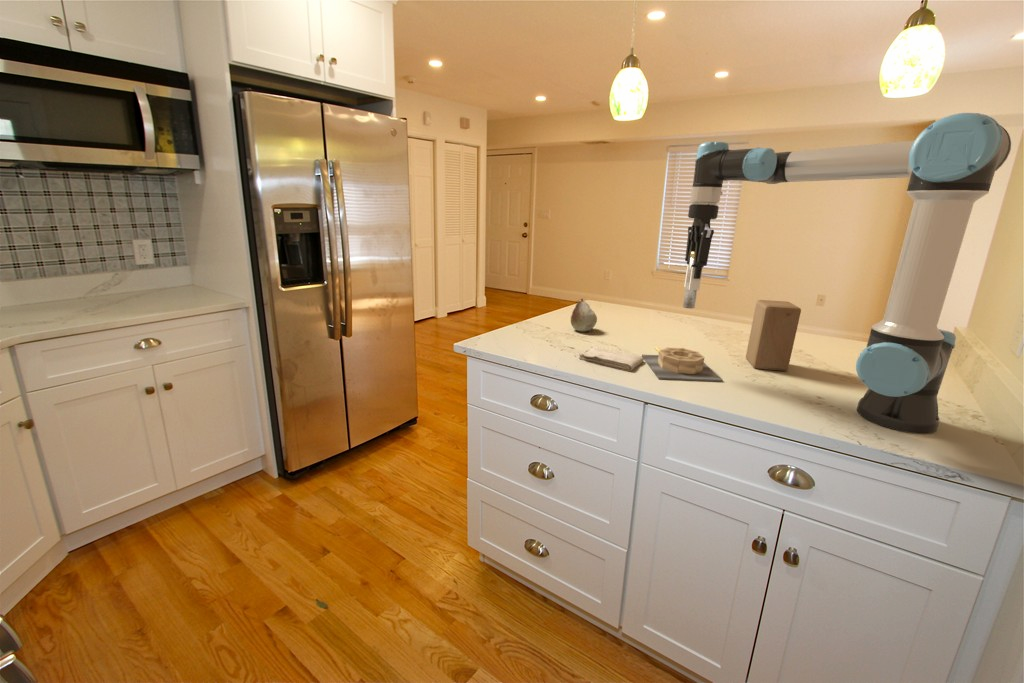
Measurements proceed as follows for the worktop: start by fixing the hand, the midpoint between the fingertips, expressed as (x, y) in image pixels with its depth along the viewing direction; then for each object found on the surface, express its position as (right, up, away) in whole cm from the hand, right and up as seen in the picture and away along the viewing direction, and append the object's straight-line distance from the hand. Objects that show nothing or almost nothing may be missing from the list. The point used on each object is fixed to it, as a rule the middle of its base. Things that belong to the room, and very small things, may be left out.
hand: (691, 288), depth 132 cm
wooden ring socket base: (-1, -24, +7) cm, 25 cm away
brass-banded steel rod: (0, -5, +2) cm, 6 cm away
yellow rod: (-2, -19, +22) cm, 29 cm away
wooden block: (+28, -23, +12) cm, 39 cm away
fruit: (-24, -11, +45) cm, 52 cm away
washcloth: (-21, -22, +12) cm, 33 cm away
